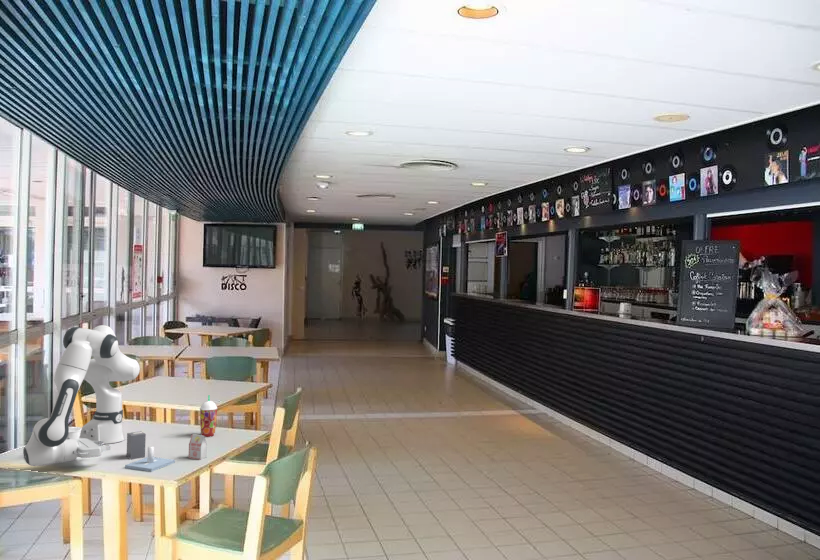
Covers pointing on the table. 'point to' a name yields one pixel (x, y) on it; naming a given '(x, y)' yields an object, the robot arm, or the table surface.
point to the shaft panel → (149, 466)
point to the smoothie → (208, 418)
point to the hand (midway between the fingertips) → (106, 445)
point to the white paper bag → (197, 447)
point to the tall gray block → (136, 445)
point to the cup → (74, 432)
